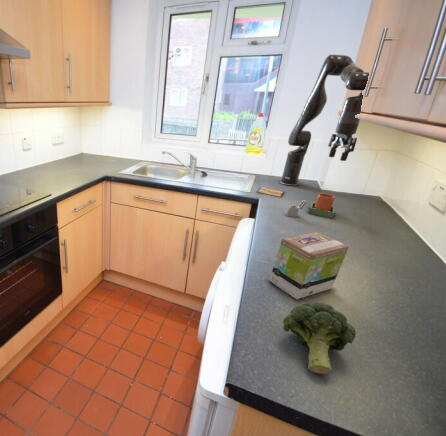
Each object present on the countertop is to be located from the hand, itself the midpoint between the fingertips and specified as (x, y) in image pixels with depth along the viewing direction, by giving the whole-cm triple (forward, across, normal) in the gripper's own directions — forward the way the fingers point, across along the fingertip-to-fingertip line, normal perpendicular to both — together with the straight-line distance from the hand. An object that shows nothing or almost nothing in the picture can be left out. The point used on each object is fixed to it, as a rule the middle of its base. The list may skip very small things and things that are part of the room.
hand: (336, 158), depth 137 cm
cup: (+26, -4, +2) cm, 26 cm away
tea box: (+27, -66, +43) cm, 83 cm away
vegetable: (+27, -92, +53) cm, 109 cm away
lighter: (+26, -9, +17) cm, 33 cm away
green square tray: (+26, -4, +2) cm, 26 cm away
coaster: (+26, +27, +13) cm, 40 cm away
